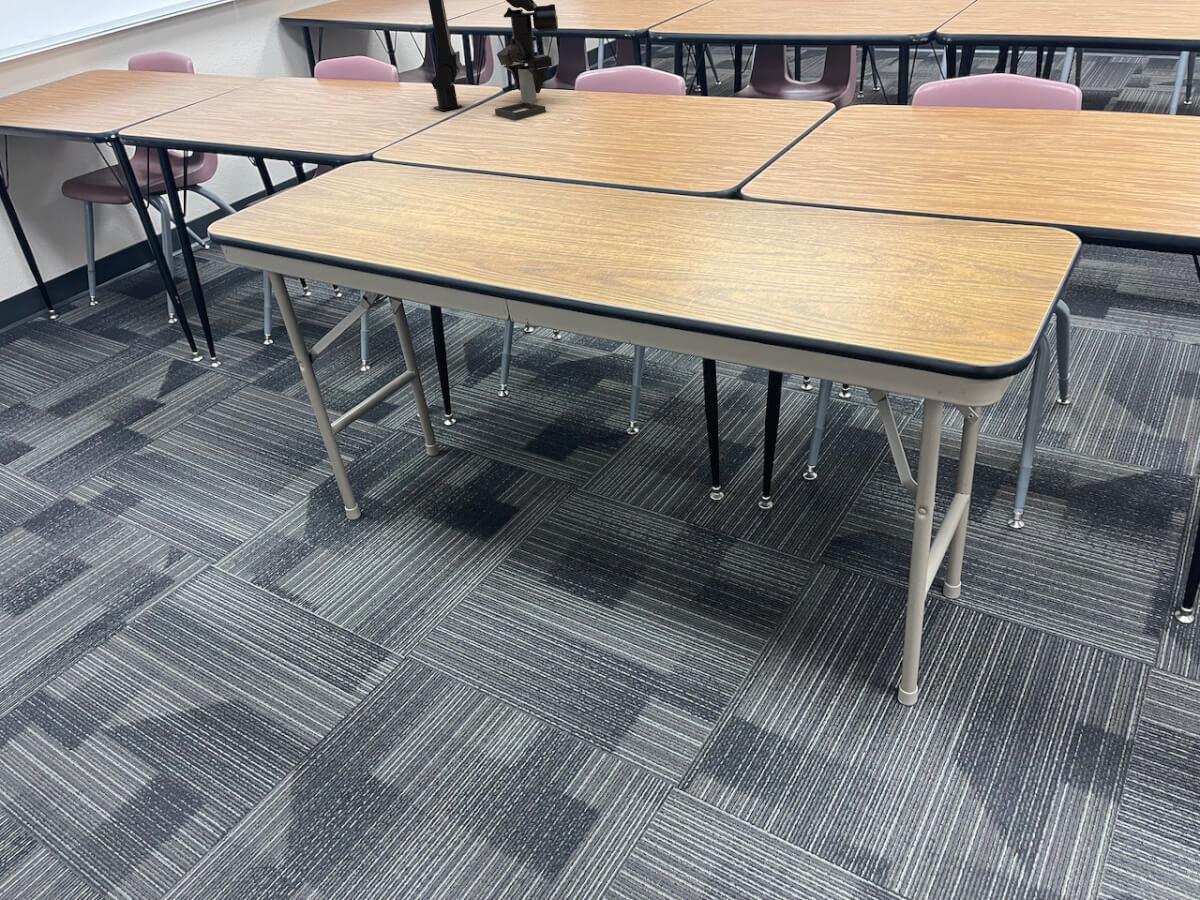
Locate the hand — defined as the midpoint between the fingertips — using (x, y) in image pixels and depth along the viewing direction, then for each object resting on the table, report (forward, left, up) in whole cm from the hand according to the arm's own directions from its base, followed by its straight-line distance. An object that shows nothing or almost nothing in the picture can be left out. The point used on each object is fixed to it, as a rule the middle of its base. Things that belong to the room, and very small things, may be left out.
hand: (529, 91), depth 251 cm
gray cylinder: (0, 0, -4) cm, 4 cm away
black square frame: (+9, -10, -4) cm, 14 cm away
